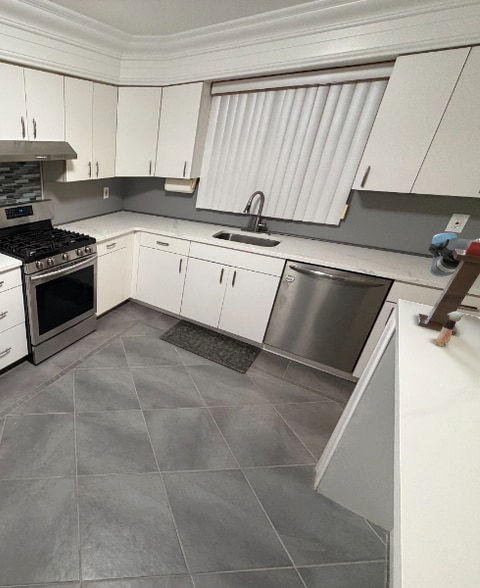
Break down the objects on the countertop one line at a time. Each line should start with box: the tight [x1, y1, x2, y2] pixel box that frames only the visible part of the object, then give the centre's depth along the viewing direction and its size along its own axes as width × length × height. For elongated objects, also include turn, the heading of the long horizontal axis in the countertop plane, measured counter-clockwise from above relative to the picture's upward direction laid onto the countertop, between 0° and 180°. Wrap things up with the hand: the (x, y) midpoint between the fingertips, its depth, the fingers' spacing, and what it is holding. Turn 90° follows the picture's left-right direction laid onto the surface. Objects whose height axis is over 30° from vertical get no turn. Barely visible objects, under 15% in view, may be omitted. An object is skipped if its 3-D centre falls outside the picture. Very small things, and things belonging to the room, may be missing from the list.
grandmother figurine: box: [432, 311, 464, 347], centre depth 108 cm, size 8×4×13 cm, turn 137°
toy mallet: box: [464, 239, 480, 256], centre depth 113 cm, size 15×6×4 cm, turn 137°
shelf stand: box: [416, 249, 480, 336], centre depth 116 cm, size 12×10×29 cm
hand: (473, 246), depth 117 cm, fingers open, 13 cm apart
